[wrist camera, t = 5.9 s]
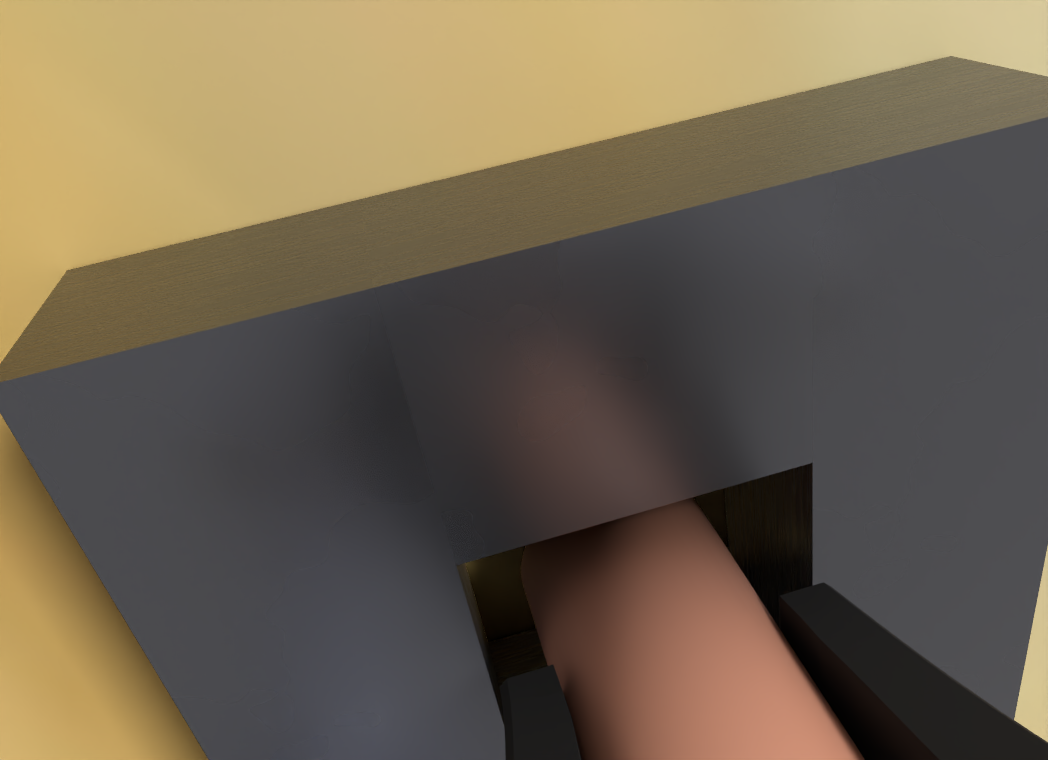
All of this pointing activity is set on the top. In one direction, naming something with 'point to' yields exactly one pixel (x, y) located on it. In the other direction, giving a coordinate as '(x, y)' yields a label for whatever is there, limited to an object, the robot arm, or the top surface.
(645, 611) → the pin
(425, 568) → the collar block
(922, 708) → the robot arm
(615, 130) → the top surface
